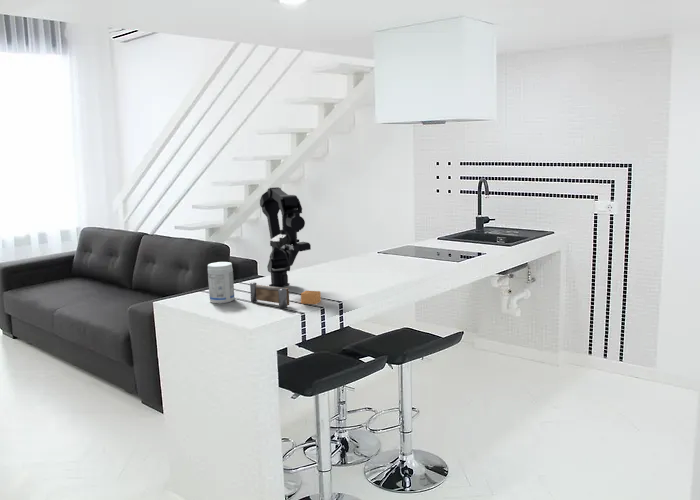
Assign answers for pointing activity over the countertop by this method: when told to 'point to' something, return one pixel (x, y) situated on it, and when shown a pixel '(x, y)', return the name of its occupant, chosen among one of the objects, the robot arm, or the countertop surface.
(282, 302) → the gate posts
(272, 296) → the gate
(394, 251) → the countertop surface
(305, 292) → the orange-brown rectangular block
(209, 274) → the supplement tub
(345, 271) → the countertop surface
